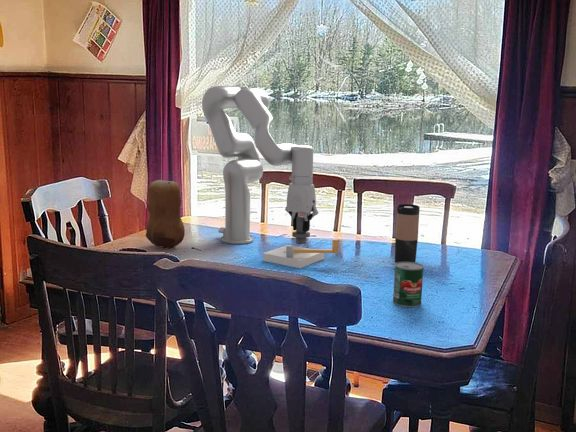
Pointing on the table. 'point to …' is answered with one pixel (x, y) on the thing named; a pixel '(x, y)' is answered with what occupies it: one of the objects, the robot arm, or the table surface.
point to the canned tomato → (408, 284)
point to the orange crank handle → (291, 250)
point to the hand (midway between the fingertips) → (301, 230)
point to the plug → (300, 231)
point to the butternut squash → (164, 214)
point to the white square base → (296, 261)
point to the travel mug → (406, 233)
